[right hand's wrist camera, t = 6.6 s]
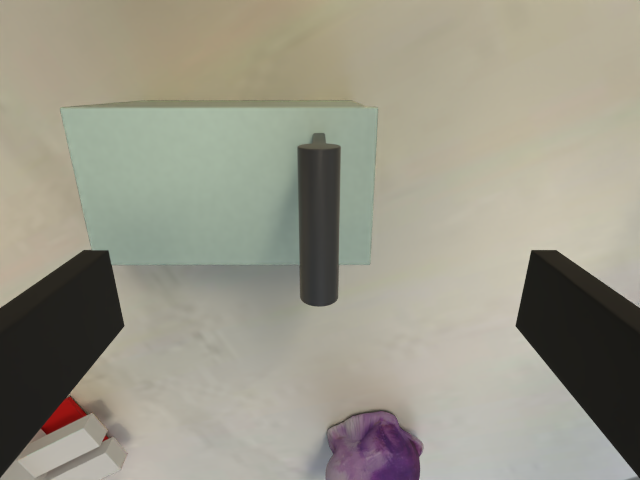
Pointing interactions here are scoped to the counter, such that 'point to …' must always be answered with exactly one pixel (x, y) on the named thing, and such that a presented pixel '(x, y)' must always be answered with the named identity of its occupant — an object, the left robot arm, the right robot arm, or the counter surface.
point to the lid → (229, 186)
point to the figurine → (373, 449)
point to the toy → (68, 449)
